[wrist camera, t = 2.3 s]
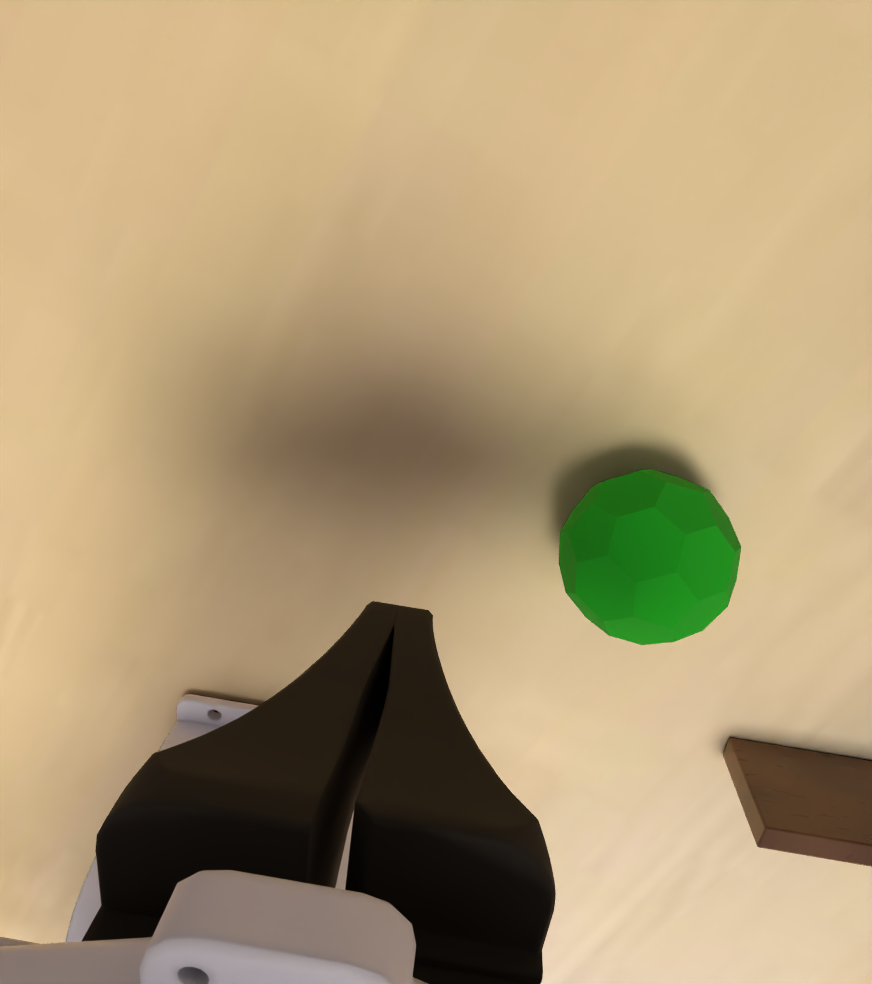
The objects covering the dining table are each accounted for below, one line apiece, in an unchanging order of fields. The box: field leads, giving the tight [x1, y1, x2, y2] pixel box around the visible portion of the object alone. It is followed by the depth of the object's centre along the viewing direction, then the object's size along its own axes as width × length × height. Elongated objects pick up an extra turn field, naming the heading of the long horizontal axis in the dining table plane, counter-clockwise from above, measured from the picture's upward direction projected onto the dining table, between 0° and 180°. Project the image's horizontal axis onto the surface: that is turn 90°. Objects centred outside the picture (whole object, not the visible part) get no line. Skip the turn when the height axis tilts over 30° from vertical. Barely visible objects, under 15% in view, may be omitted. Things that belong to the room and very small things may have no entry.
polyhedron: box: [559, 469, 741, 645], centre depth 20 cm, size 5×5×5 cm
